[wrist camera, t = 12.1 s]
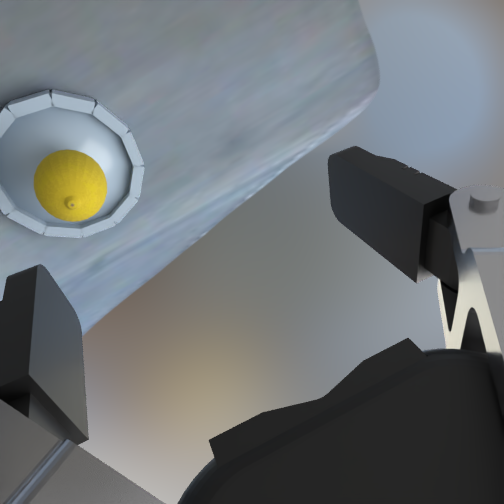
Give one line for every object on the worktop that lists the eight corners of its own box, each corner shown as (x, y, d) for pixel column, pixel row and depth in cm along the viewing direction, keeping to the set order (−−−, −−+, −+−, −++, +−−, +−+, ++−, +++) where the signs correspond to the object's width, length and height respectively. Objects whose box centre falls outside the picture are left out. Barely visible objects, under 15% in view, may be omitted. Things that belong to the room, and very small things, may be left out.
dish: (-54, 120, 31) (-59, 126, 29) (105, 71, 33) (107, 74, 32) (35, 247, 39) (34, 256, 37) (158, 200, 41) (161, 207, 40)
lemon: (34, 134, 33) (29, 166, 27) (104, 142, 35) (113, 173, 29) (36, 195, 35) (31, 237, 29) (101, 198, 38) (109, 238, 32)
